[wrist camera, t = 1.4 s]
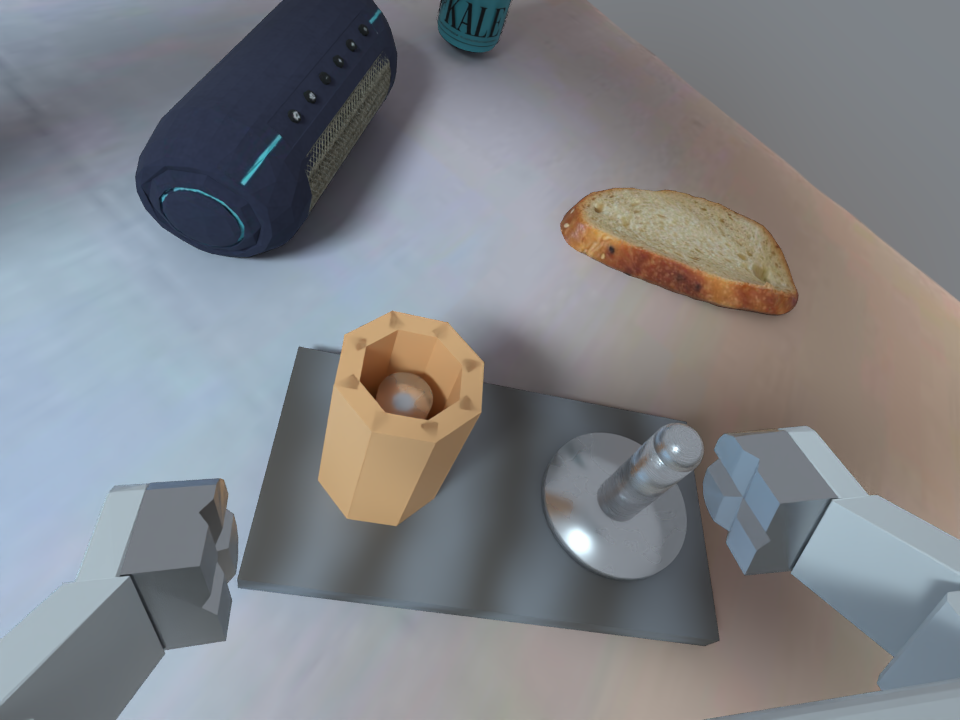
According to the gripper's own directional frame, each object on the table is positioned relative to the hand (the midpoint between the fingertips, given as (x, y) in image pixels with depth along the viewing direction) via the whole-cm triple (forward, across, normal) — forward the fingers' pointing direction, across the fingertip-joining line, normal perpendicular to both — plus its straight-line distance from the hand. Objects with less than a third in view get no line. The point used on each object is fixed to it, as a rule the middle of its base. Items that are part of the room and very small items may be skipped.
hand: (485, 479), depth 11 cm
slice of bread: (+39, -25, +19) cm, 50 cm away
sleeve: (+19, +2, +19) cm, 27 cm away
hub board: (+18, -5, +22) cm, 29 cm away
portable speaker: (+43, +7, +11) cm, 45 cm away
